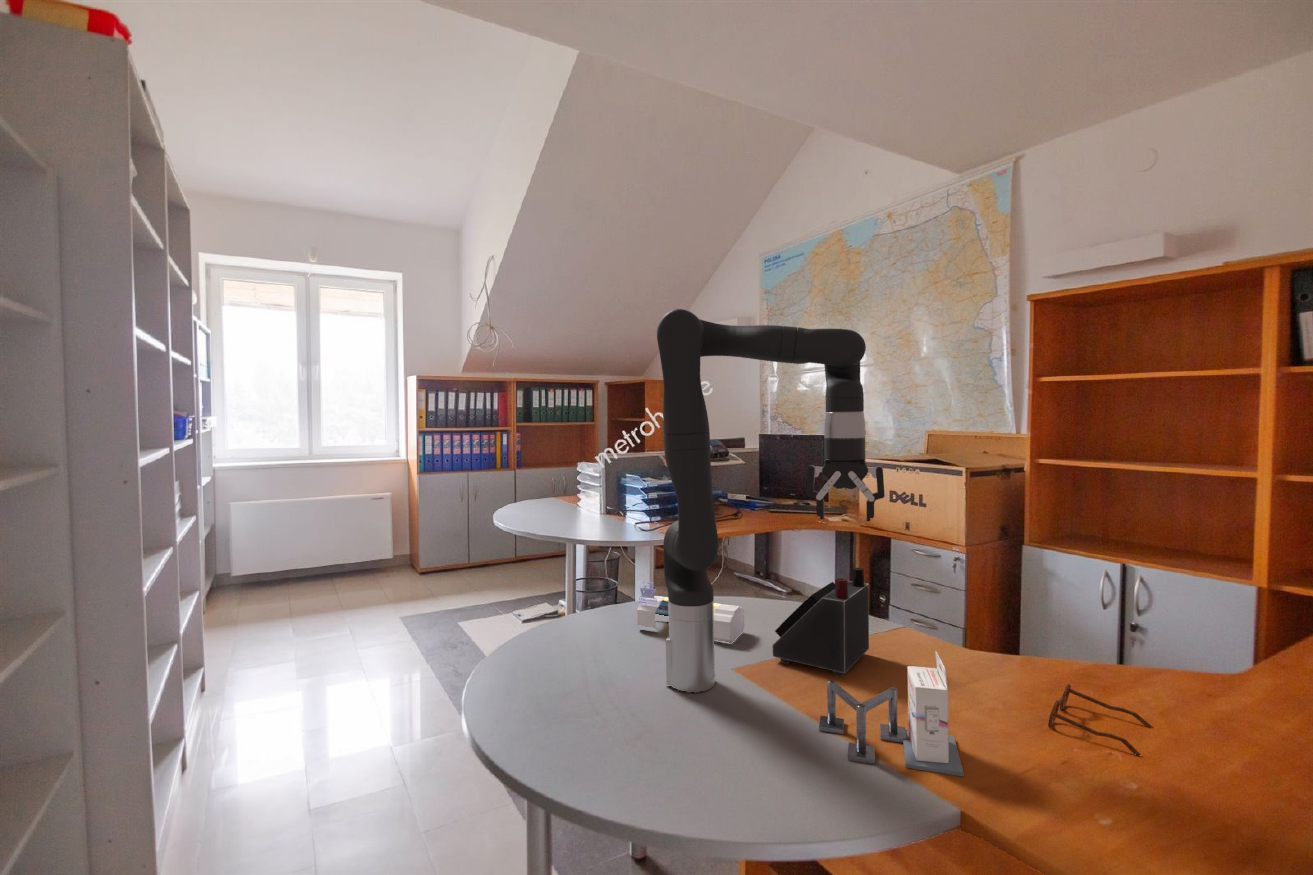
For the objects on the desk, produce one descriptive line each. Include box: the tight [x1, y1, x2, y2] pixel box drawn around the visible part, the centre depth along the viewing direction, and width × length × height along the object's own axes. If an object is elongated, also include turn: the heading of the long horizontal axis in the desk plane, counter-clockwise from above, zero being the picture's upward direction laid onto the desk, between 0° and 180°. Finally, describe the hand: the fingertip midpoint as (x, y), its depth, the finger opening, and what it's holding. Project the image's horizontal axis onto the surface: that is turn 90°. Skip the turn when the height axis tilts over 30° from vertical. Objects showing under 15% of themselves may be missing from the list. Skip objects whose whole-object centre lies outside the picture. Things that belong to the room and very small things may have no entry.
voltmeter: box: [772, 567, 870, 677], centre depth 138 cm, size 16×16×20 cm
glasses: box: [1047, 684, 1153, 756], centre depth 106 cm, size 13×13×5 cm
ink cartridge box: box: [906, 650, 949, 763], centre depth 99 cm, size 9×5×15 cm, turn 167°
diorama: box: [636, 581, 745, 643], centre depth 157 cm, size 25×10×13 cm, turn 64°
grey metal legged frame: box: [818, 679, 907, 765], centre depth 102 cm, size 14×12×8 cm
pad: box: [902, 729, 964, 777], centre depth 99 cm, size 8×11×1 cm
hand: (845, 519), depth 119 cm, fingers open, 8 cm apart
